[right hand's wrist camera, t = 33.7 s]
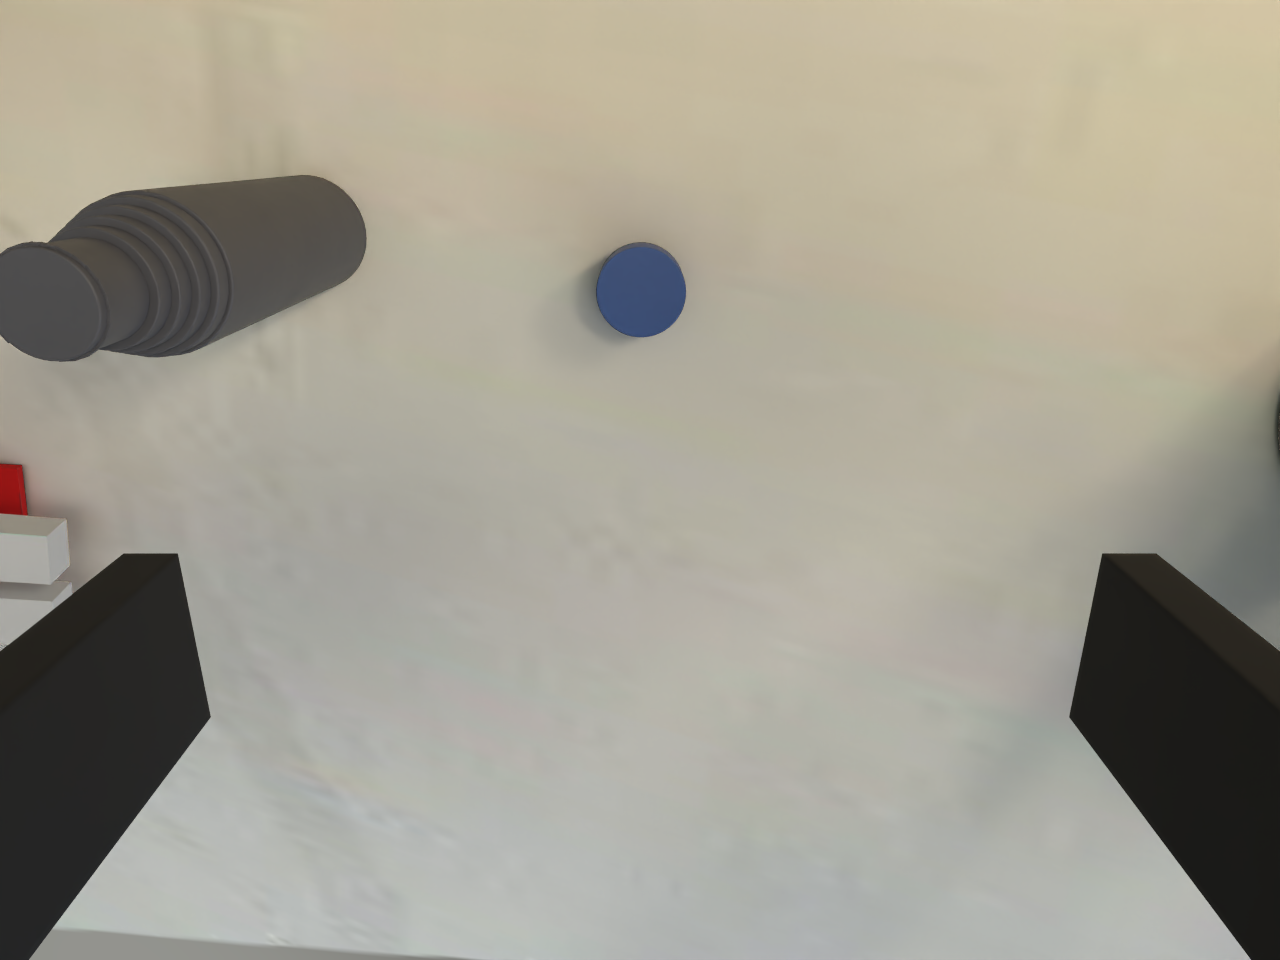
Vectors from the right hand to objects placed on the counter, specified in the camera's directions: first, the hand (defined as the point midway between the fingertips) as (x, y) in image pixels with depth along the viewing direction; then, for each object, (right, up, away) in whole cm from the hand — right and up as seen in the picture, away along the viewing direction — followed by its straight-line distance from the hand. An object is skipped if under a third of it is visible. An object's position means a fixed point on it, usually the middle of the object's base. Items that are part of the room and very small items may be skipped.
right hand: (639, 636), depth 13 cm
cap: (0, +11, +30) cm, 32 cm away
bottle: (-16, +14, +31) cm, 38 cm away
